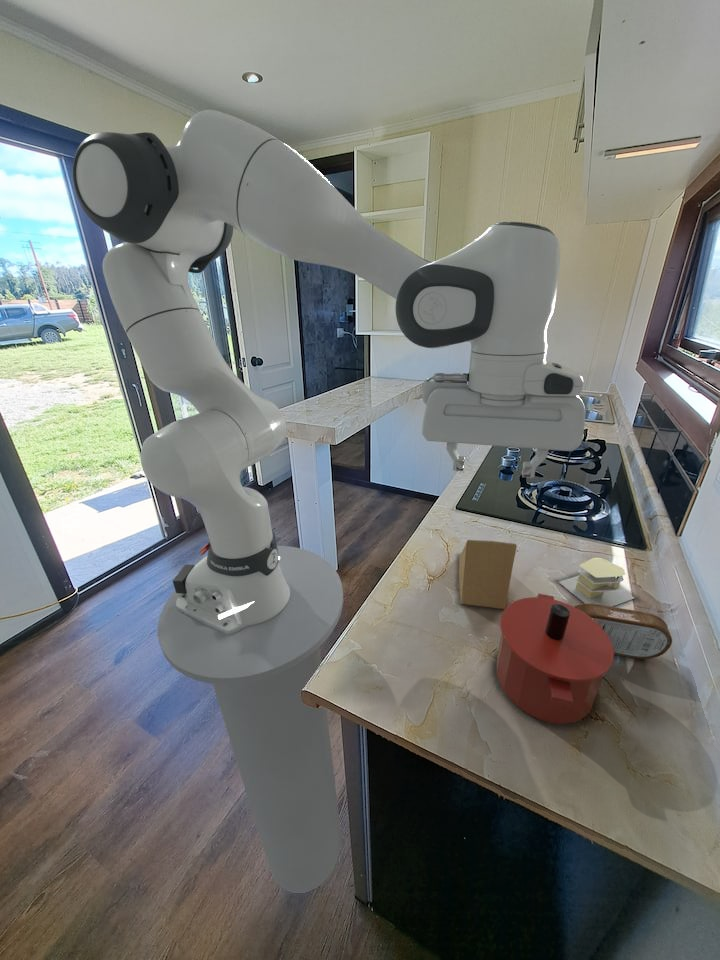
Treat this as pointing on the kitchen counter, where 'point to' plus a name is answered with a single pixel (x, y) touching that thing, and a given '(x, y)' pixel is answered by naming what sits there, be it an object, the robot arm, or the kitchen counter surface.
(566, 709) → the pot
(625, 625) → the tin
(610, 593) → the stacked layers on plate
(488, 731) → the kitchen counter surface
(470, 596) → the sandwich container
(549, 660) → the lid
